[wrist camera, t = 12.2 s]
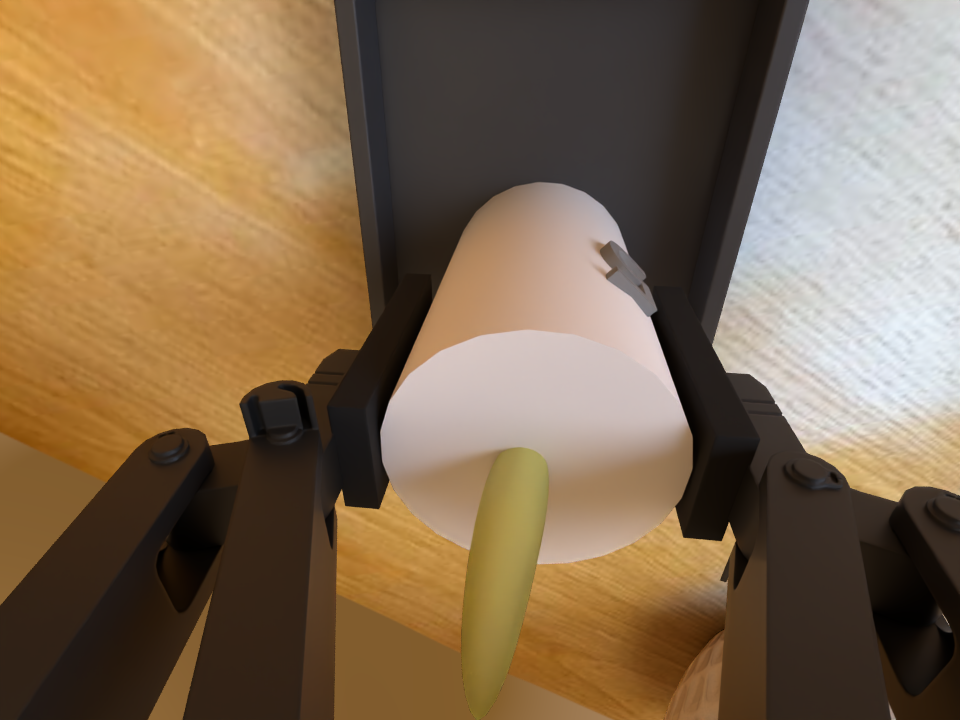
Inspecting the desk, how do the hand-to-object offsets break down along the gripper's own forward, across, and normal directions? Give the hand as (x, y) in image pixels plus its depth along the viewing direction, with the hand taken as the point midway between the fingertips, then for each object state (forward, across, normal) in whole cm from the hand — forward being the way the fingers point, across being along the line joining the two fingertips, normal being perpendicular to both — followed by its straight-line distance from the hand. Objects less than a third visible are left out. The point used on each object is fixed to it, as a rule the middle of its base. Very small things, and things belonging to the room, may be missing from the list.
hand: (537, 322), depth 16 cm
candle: (+5, 0, 0) cm, 5 cm away
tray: (+5, 0, 0) cm, 5 cm away
